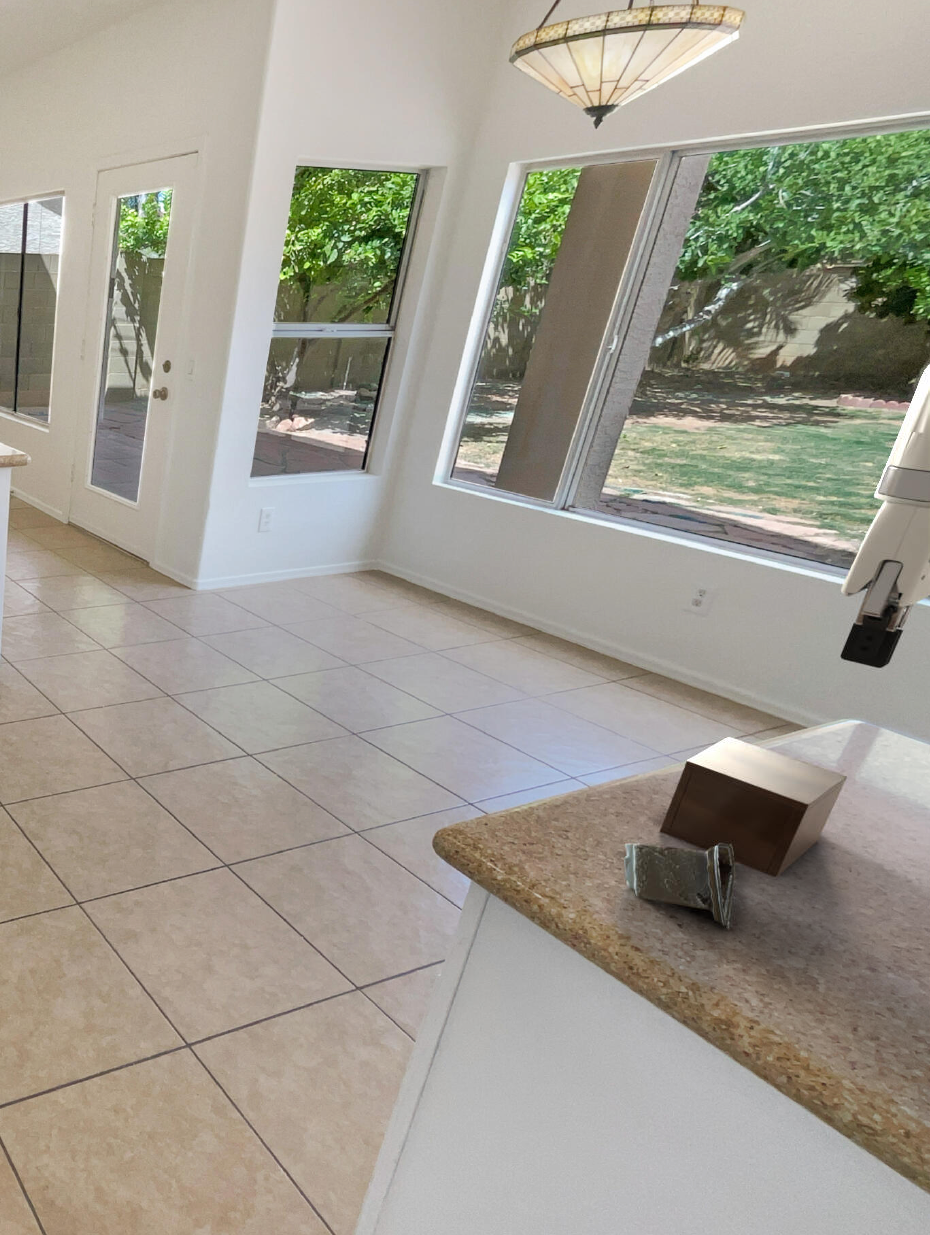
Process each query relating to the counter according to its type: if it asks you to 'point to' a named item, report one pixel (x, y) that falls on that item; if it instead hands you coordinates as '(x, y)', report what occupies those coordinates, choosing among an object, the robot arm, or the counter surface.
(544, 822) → the counter surface
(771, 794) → the cabinet
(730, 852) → the squashed foil tin
